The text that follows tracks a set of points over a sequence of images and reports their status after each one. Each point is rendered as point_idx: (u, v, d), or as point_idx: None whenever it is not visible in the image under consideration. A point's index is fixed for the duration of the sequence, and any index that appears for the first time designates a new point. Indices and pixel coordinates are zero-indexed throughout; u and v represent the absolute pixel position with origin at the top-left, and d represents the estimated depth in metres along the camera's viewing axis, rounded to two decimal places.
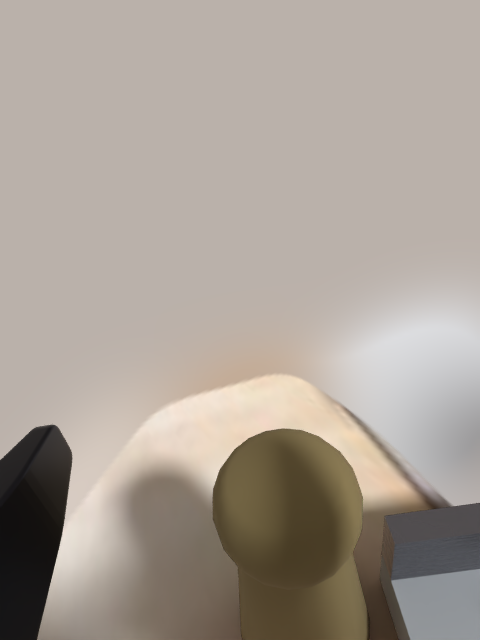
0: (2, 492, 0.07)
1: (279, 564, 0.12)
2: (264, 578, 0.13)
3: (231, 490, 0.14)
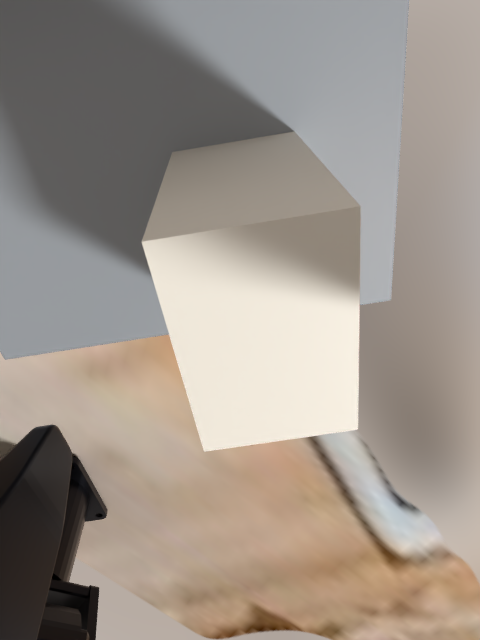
0: (2, 492, 0.07)
1: None
2: None
3: None
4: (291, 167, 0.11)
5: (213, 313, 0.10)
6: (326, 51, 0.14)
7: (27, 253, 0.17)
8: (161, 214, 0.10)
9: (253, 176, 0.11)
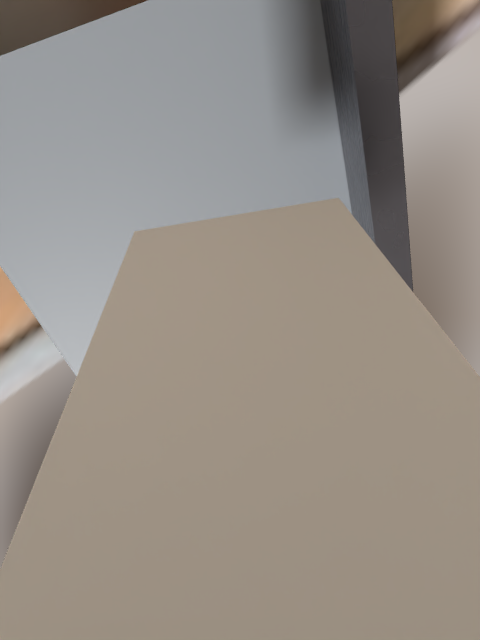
0: None
1: None
2: None
3: None
4: (362, 320, 0.05)
5: None
6: None
7: (65, 149, 0.16)
8: (48, 516, 0.04)
9: (281, 346, 0.05)
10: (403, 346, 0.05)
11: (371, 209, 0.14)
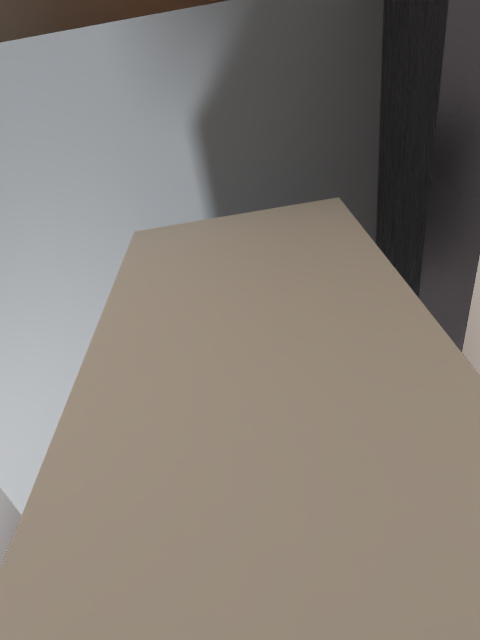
0: None
1: None
2: None
3: None
4: (364, 320, 0.05)
5: None
6: None
7: None
8: (48, 516, 0.04)
9: (281, 345, 0.05)
10: (404, 345, 0.05)
11: None
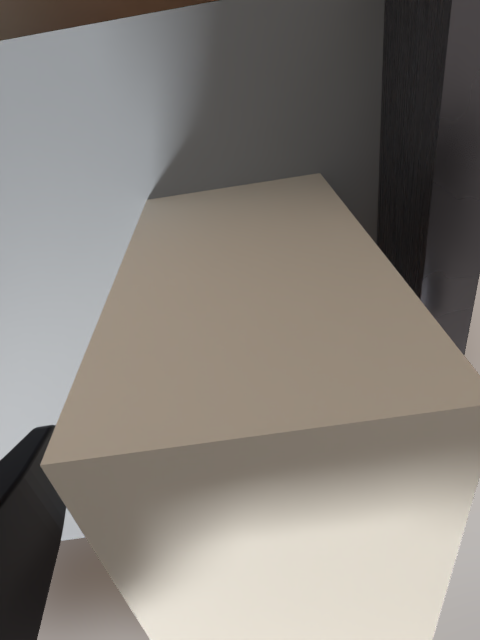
0: (2, 492, 0.07)
1: None
2: None
3: None
4: (328, 253, 0.07)
5: (192, 554, 0.05)
6: None
7: None
8: (100, 365, 0.05)
9: (265, 269, 0.07)
10: (355, 267, 0.06)
11: None
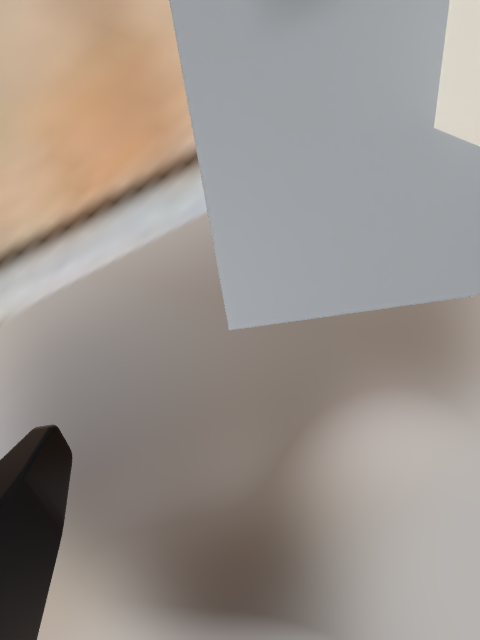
0: (2, 492, 0.07)
1: None
2: None
3: None
4: None
5: None
6: (445, 250, 0.19)
7: None
8: None
9: None
10: None
11: None
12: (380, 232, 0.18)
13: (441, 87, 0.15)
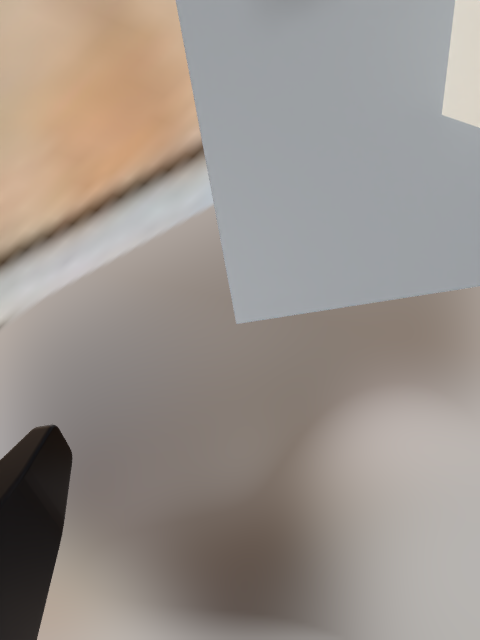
0: (2, 492, 0.07)
1: None
2: None
3: None
4: None
5: None
6: (454, 240, 0.18)
7: None
8: None
9: None
10: None
11: None
12: (388, 222, 0.18)
13: (449, 73, 0.15)
